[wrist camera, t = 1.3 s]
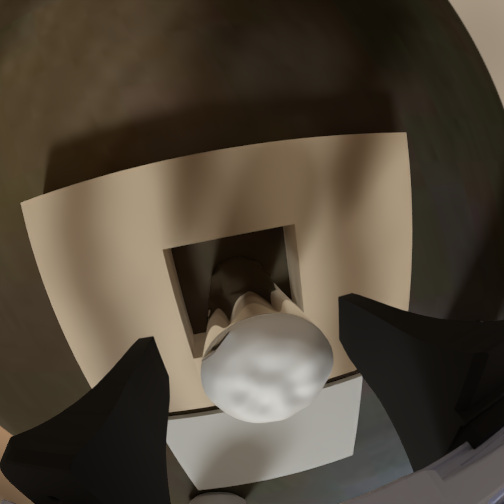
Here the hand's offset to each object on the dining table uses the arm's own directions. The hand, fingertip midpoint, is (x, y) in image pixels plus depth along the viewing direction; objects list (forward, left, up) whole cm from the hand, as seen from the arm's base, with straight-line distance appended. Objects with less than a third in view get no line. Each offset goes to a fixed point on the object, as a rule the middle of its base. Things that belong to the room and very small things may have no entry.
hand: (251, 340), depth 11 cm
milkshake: (0, 0, -7) cm, 7 cm away
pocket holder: (0, 0, -6) cm, 6 cm away
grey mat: (0, +16, -6) cm, 17 cm away
